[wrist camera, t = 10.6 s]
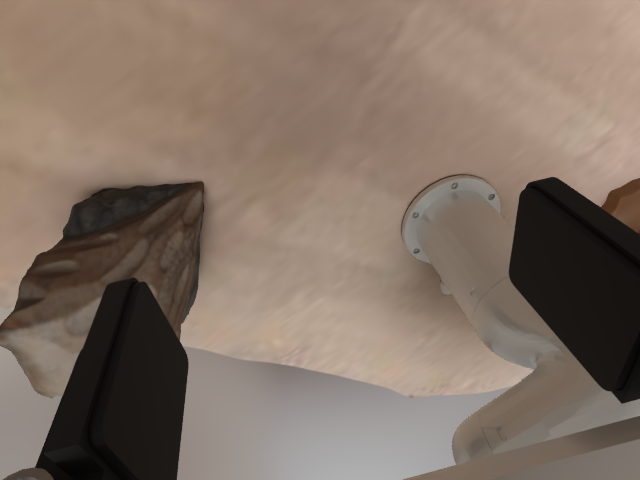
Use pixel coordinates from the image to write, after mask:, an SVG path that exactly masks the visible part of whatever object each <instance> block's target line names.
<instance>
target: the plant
mask: <svg viewBox="0 0 640 480" xmlns="http://www.w3.org/2000/svg"><path fill="white" fill-rule="evenodd" d="M601 208H602V209H603V210H605V211H606V212H608V213H609V214H611V215H612V216H614V217H615V218H617V219H618V220H619V221H621V222H622V223H624V224H625V225H627V226H628V227H630V228H631V229H633V230H634V231H636V232H637V233H638V234H640V178H638V179H635V180H633V181H630V182H629V183H627V184H626V185H624V186H622V187H620V188H618V189H615V190H612V191H611V192H610V193H609V195H608V197H607V200H606V202H605V203H604V204H603V206H602V207H601Z"/></svg>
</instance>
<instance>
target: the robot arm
mask: <svg viewBox="0 0 640 480" xmlns="http://www.w3.org/2000/svg"><path fill="white" fill-rule="evenodd" d="M402 238H403V241H404V244H405V246H406V248H407V249H408V251H409V252H410V253H411V254H412V255H413V256H414V257H415V258H416V259H418V260H420V261H422V262H425V263H428V264H432V265H433V266H434V268H435V270H436V271H437V273H438V274H439V276H440V277H441V280H440V291H441V293H443V294H444V295H452V296H453V297H454V299H455V300H456V302H457V303H458V305H459V306H460V308H461V310H462V311H463V313H464V314H465V316H466V317H467V319H468V320H469V322H470V323H471V325H472V326H473V328H474V329H475V331H476V332H477V334H478V335H479V337H480V338H481V340H482V341H483V342H484V344H485V345H486V346H487V347H488V348H489V349H490V350H491V351H493V352H494V353H495V354H497V355H498V356H500V357H502V358H504V359H506V360H508V361H510V362H512V363H515V364H518V365H521V366H524V367H527V368H531V369H534V371H533V372H532V373H531V374H529V375H528V376H527V377H525V378H524V379H522V380H521V382H519V383H518V384H516V385H515V386H513V387H512V388H510V389H509V390H507V391H506V392H505V393H503V394H501V395H500V396H498V397H497V398H495V399H494V400H492V401H491V402H489V403H488V404H486V405H485V406H483V407H482V408H480V409H479V410H478V411H476V412H475V413H473V414H472V415H471V416H469V417H468V418H467V419H465V420H464V421H463V422H462V423H461V424H460V425H459V427H458V428H457V429H456V431H455V433H454V436H453V441H452V450H453V456H454V460H455V463H456V465H455V466H451V467H447V468H444V469H440V470H436V471H433V472H429V473H425V474H422V475H418V476H414V477H411V478H407V479H403V480H640V234H638V233H637V232H636V231H634V230H633V229H631V228H630V227H628V226H627V225H625V224H624V223H622V222H621V221H619V220H618V219H617V218H615V217H614V216H612V215H611V214H609V213H608V212H606V211H605V210H603V209H602V208H600V207H599V206H597V205H596V204H595V203H593V202H592V201H590V200H589V199H587V198H586V197H584V196H583V195H581V194H580V193H578V192H577V191H575V190H574V189H573V188H571V187H570V186H568V185H567V184H565V183H564V182H562V181H561V180H559V179H558V178H555V177H550V178H546V179H542V180H537V181H533V182H530V183H528V184H527V186H526V188H525V190H523V191H522V192H521V193H520V197H519V204H518V211H517V217H516V224H515V227H514V226H513V225H512V224H511V223H509V222H508V221H507V220H506V219H505V218H504V217H503V216H502V215H501V202H500V198H499V196H498V194H497V192H496V190H495V189H494V188H493V187H492V186H491V185H489V184H488V183H487V182H486V181H484V180H483V179H480V178H478V177H475V176H469V175H458V176H453V177H448V178H445V179H443V180H440V181H438V182H436V183H434V184H432V185H431V186H429V187H428V188H426V189H425V190H424V191H423V192H421V193H420V194H419V195H418V196H417V197H416V198H415V199H414V201H413V202H412V204H411V205H410V206H409V208H408V210H407V212H406V214H405V216H404V219H403V223H402ZM187 375H188V357H187V354H186V352H185V350H184V348H183V346H182V344H181V343H180V341H179V339H178V337H177V336H176V334H175V332H174V330H173V328H172V327H171V325H170V323H169V321H168V320H167V318H166V316H165V314H164V313H163V311H162V309H161V307H160V305H159V304H158V302H157V300H156V298H155V297H154V295H153V293H152V291H151V290H150V288H149V286H148V285H147V283H146V282H144V281H142V282H139V281H138V280H137V279H136V278H129V279H124V280H120V281H116V282H112V283H109V284H107V286H106V288H105V291H104V293H103V296H102V299H101V301H100V304H99V306H98V309H97V312H96V314H95V317H94V320H93V322H92V325H91V328H90V330H89V333H88V336H87V338H86V341H85V343H84V346H83V349H82V350H81V351H80V353H79V355H78V357H77V360H76V362H75V365H74V367H73V370H72V373H71V375H70V378H69V381H68V383H67V386H66V388H65V391H64V394H63V396H62V399H61V402H60V404H59V407H58V409H57V412H56V415H55V417H54V420H53V422H52V425H51V428H50V430H49V433H48V435H47V438H46V441H45V443H44V446H43V448H42V451H41V454H40V456H39V459H38V462H37V464H36V467H35V468H29V469H23V470H20V471H18V472H16V473H13V474H11V475H9V476H7V477H6V478H4V479H3V480H177V471H178V461H179V451H180V441H181V432H182V422H183V413H184V403H185V394H186V384H187Z"/></svg>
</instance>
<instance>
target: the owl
mask: <svg viewBox="0 0 640 480" xmlns="http://www.w3.org/2000/svg"><path fill="white" fill-rule="evenodd" d="M203 189H204V184H203V182H195V183H184V184H175V185H171V184H164V185H159V186H155V187H146V186H136V187H133V188H130V189H126V190H122V189H116V188H108V189H103V190H101V191H99V192H98V193H95V194H93V195H92V197H91V198H88V199H86V200H84V201H82V202H80V203H77V204H75V205H74V206H73V207H72V210H71V214H70V218H69V221H68V223H67V224H66V226H65V228H64V229H63V239H62V240H61V241H59V242H58V243H57V244H56V245H55V246H54V247H53V248H52V249H50V250H48V251H47V252H43V253H40V254H39V255H37V256H36V258H35V260H34V262H33V264H32V266H31V267H30V268H29V269H28V270H27V273H26V275H25V276H24V277H23V278H22V281H21V283H20V286H19V294H18V300H17V302H16V305H15V309H14V311H13V312H12V313H11V314H10V315H9V316H8V317H7V319H5V320H4V322H3V323H2V324H1V325H0V346H2V347H4V348H6V349H8V350H10V351H11V352H12V353H13V354H14V356H15V357H16V359H17V361H18V363H19V364H20V366H21V367H22V369H23V371H24V373H25V374H26V376H27V377H28V379H29V381H30V383H31V385H32V387H33V388H34V389H35V391H36V392H37V393H39V394H41V395H43V396H47V397H50V398H53V397H55V396H63V394H64V391H65V388H66V386H67V383H68V381H69V378H70V375H71V373H72V370H73V367H74V365H75V362H76V360H77V357H78V355H79V353H80V351H81V350H82V349H83V346H84V343H85V341H86V338H87V336H88V333H89V330H90V328H91V325H92V322H93V320H94V317H95V314H96V312H97V309H98V306H99V304H100V301H101V299H102V296H103V293H104V291H105V288H106V286H107V284H109V283H112V282H116V281H120V280H124V279H129V278H136V279H137V280H138V281H139V282H142V281H144V282H146V283H147V285H148V286H149V288H150V290H151V291H152V293H153V295H154V297H155V298H156V300H157V302H158V304H159V305H160V307H161V309H162V311H163V313H164V314H165V316H166V318H167V320H168V321H169V323H170V325H171V327H172V328H173V330H174V332H175V334H176V336H177V337H178V339H179V341H180V333H181V323H183V322H184V320H185V318H186V316H187V315H188V314H189V311H190V308H191V307H192V305H193V303H194V301H195V298H196V294H197V290H198V268H199V259H200V248H199V238H200V232H201V228H202V217H203V212H204V202H203V193H204V190H203Z"/></svg>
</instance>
